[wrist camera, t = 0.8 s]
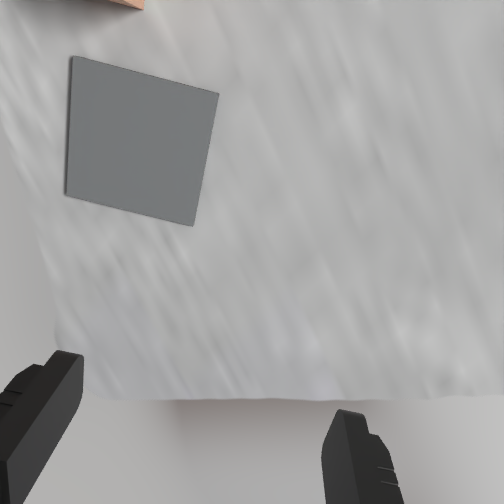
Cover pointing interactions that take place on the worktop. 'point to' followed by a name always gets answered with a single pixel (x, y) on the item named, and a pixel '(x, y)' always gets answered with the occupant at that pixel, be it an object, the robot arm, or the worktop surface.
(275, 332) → the worktop surface
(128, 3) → the lettered block
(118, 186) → the charcoal mat
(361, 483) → the robot arm
